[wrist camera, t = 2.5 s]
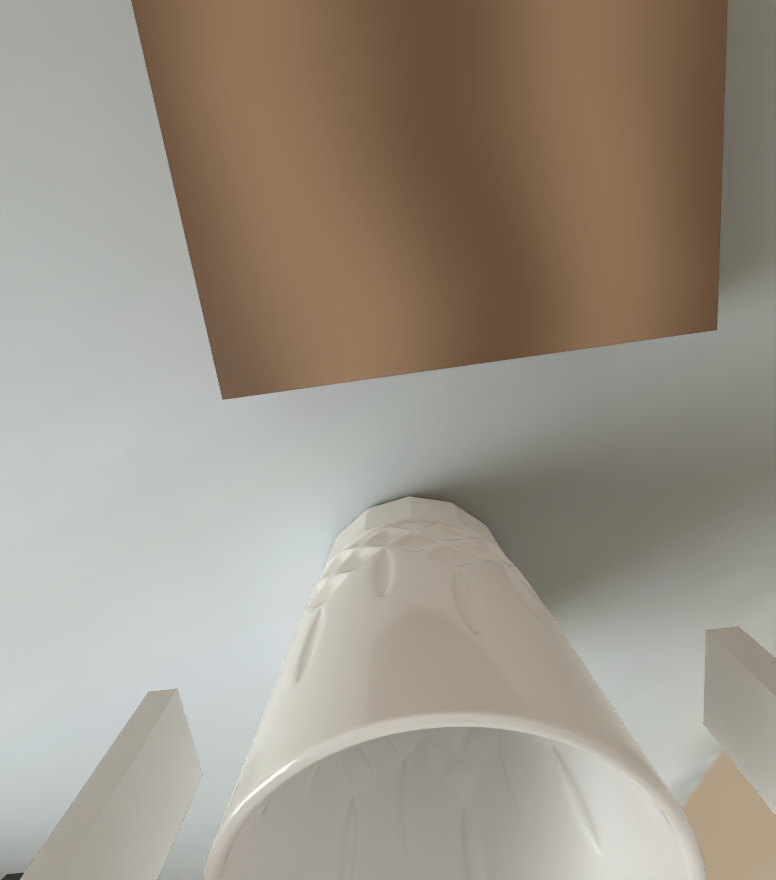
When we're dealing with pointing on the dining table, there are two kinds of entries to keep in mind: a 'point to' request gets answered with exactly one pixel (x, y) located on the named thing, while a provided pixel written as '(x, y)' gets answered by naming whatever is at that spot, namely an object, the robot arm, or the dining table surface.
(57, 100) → the dining table surface
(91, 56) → the dining table surface
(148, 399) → the dining table surface
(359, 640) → the white cup
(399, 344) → the walnut plinth
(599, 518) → the dining table surface
